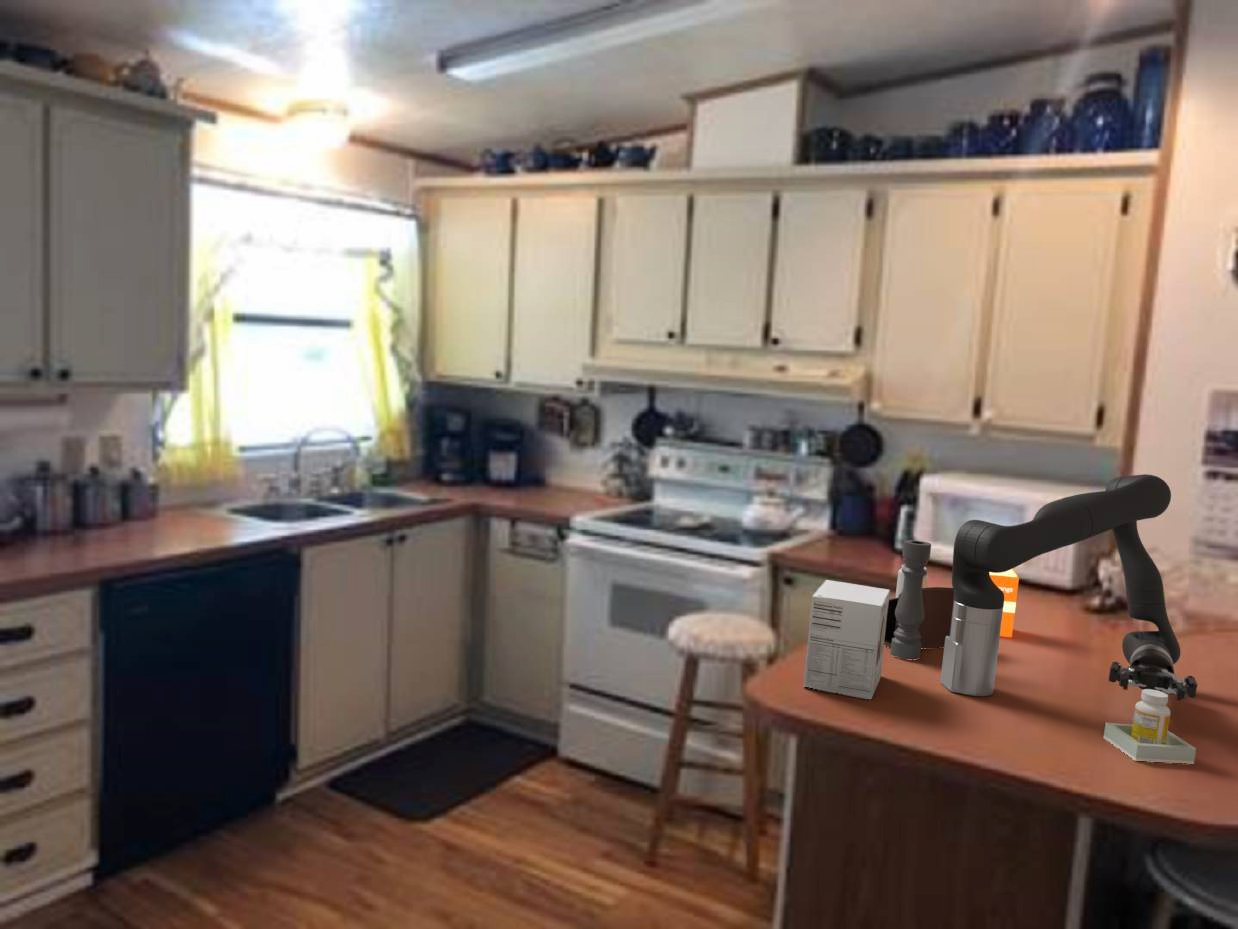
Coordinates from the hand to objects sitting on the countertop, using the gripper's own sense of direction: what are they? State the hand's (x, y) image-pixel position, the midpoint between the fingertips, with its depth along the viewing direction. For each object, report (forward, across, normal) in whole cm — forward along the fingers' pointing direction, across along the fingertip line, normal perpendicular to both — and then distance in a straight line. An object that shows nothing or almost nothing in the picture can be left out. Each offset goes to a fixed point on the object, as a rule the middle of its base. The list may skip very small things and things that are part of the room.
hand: (1152, 689), depth 180 cm
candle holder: (-18, -46, +8) cm, 50 cm away
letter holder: (-31, -47, +8) cm, 56 cm away
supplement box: (+9, -53, +8) cm, 54 cm away
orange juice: (-55, -34, +8) cm, 65 cm away
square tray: (+11, 0, +8) cm, 13 cm away
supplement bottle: (+11, 0, +7) cm, 13 cm away
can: (-59, -54, +8) cm, 81 cm away
